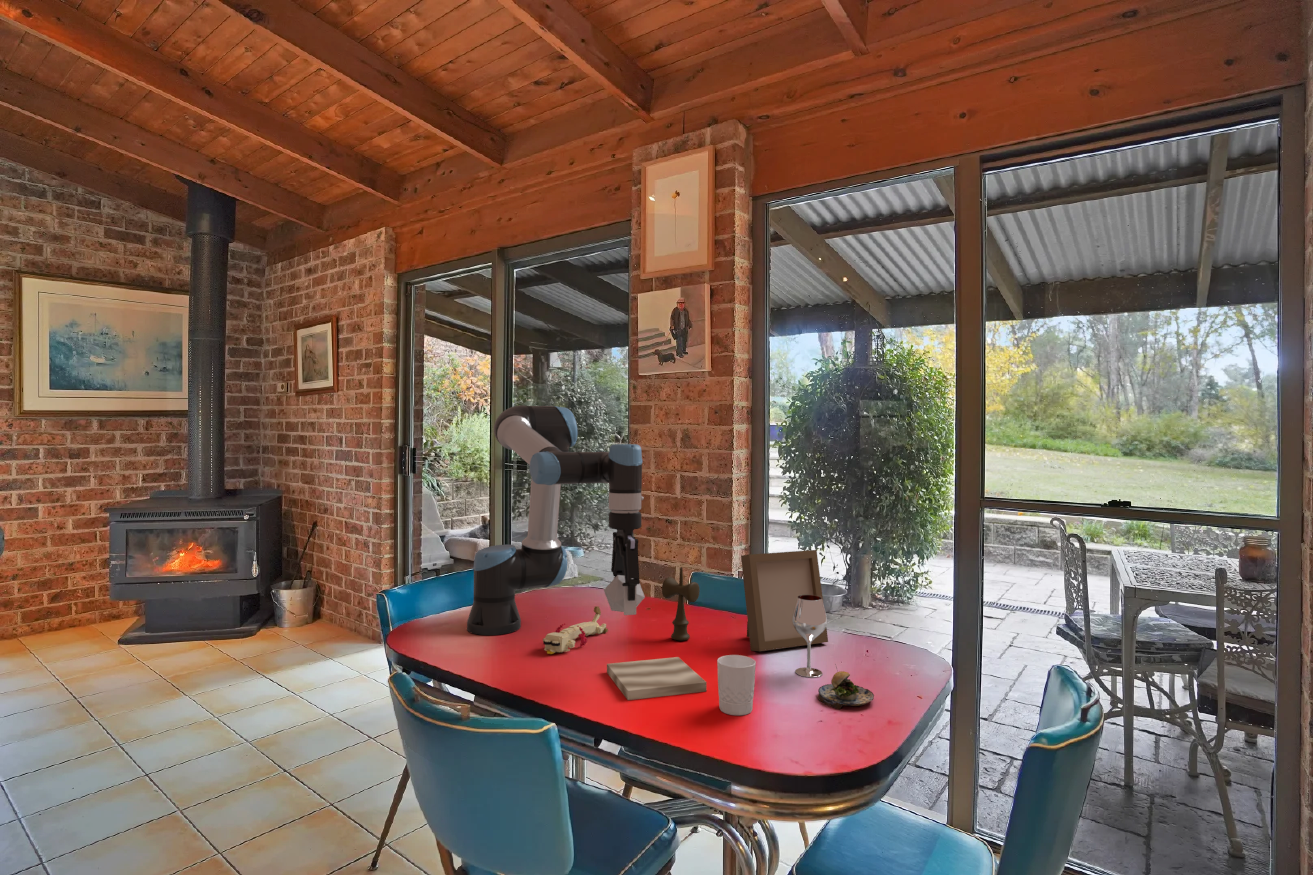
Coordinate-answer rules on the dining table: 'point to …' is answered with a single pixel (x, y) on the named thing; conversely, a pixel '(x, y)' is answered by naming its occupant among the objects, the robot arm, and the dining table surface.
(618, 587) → the die
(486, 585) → the robot arm
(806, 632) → the wineglass
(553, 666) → the dining table surface
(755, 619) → the photo frame
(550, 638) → the cat figure
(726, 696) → the white cup
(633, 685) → the birch board
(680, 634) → the kendama
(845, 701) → the burger
